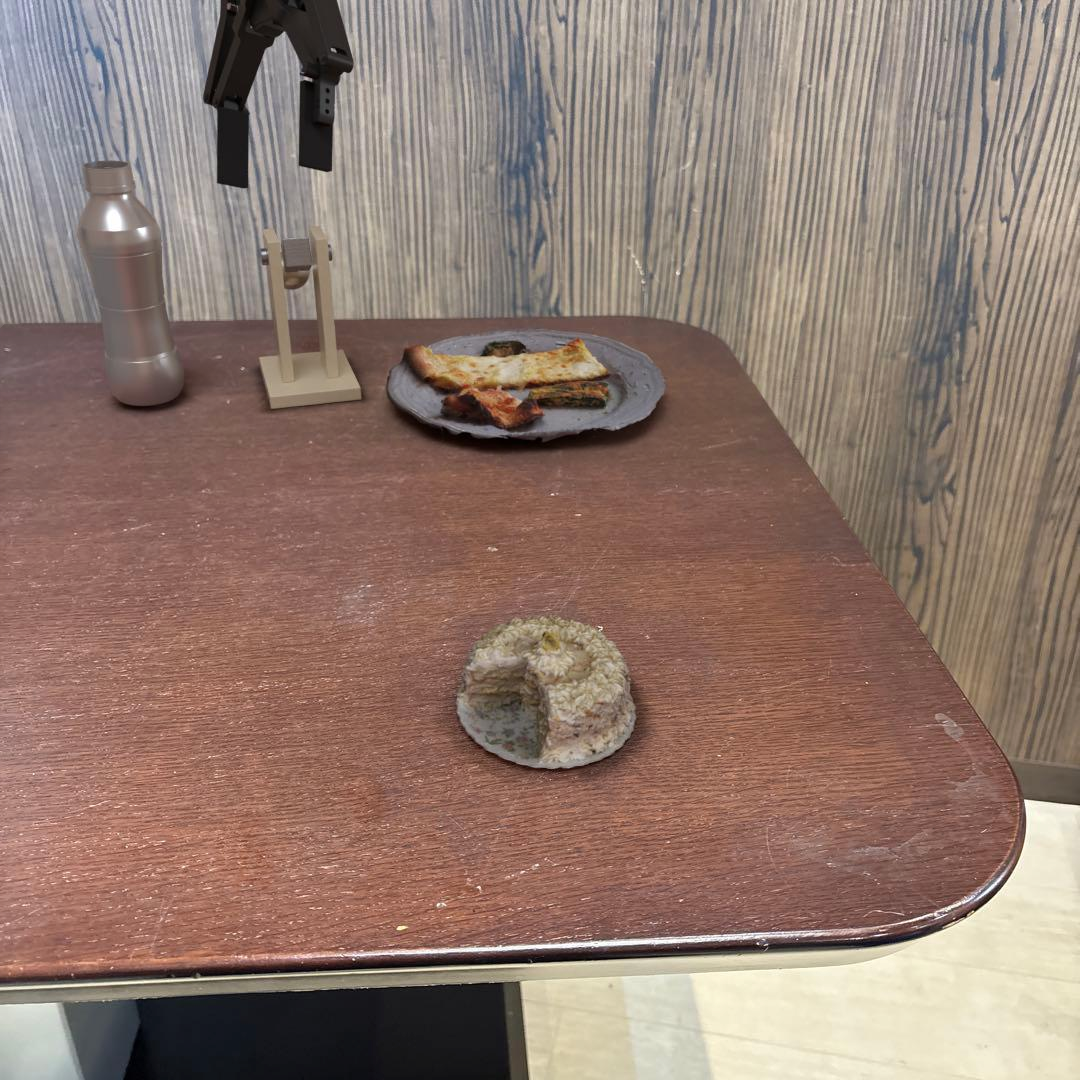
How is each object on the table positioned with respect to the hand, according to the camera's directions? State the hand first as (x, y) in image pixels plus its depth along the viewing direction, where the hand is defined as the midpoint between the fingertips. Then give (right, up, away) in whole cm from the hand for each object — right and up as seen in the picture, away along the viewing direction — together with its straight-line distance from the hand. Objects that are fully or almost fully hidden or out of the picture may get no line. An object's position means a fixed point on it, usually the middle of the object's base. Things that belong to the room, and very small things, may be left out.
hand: (271, 178), depth 87 cm
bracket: (+2, -17, +7) cm, 18 cm away
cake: (+23, -41, -32) cm, 57 cm away
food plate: (+22, -19, +5) cm, 29 cm away
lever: (+1, -8, +5) cm, 9 cm away
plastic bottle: (-12, -19, +3) cm, 22 cm away
